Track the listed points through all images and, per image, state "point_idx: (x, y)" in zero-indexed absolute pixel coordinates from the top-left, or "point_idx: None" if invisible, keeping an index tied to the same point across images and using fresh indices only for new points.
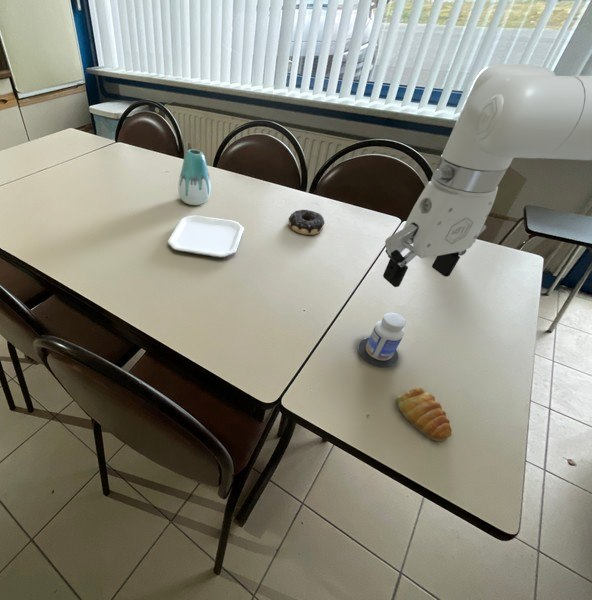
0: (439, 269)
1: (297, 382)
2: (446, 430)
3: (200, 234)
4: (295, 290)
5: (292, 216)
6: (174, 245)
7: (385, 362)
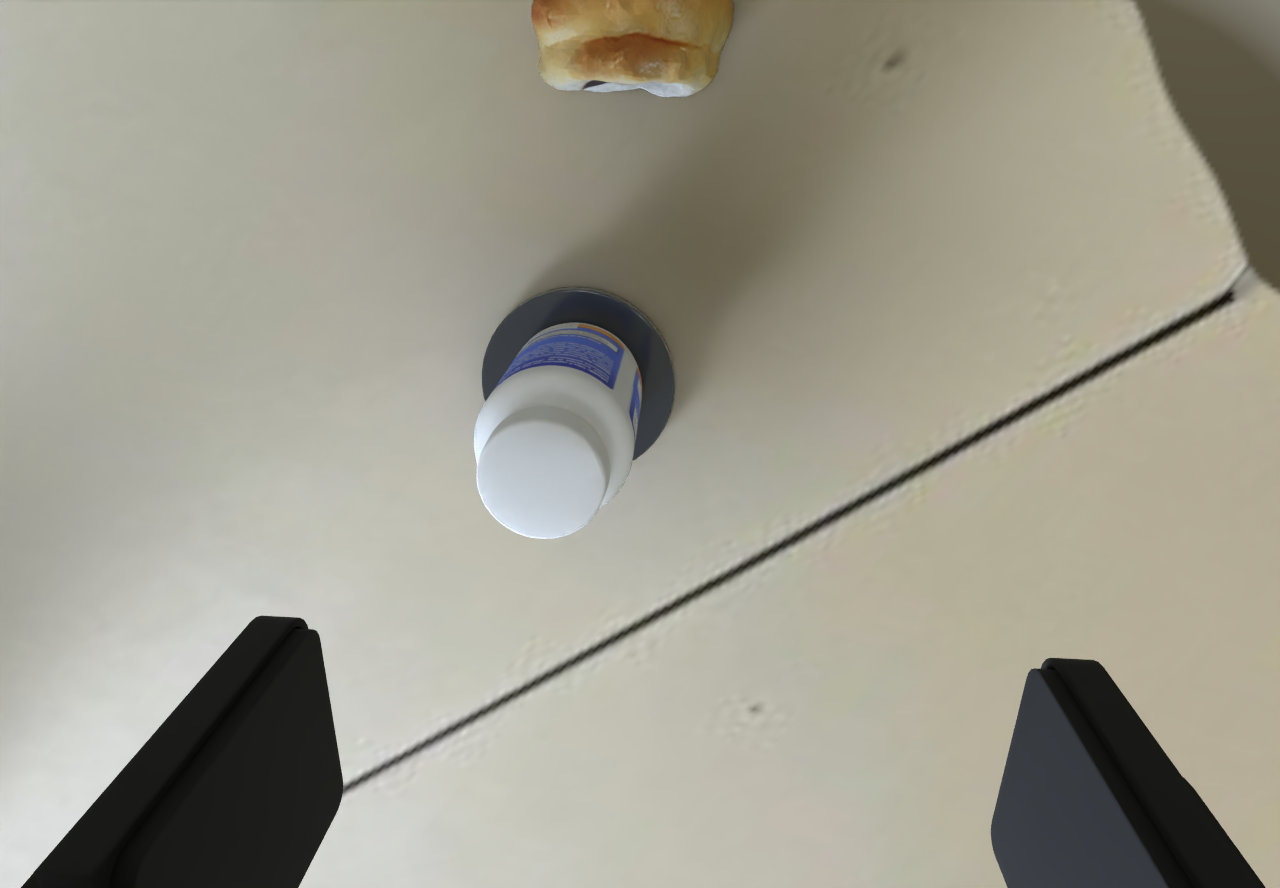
0: (314, 737)
1: (1085, 349)
2: None
3: None
4: (713, 822)
5: None
6: None
7: (589, 314)
